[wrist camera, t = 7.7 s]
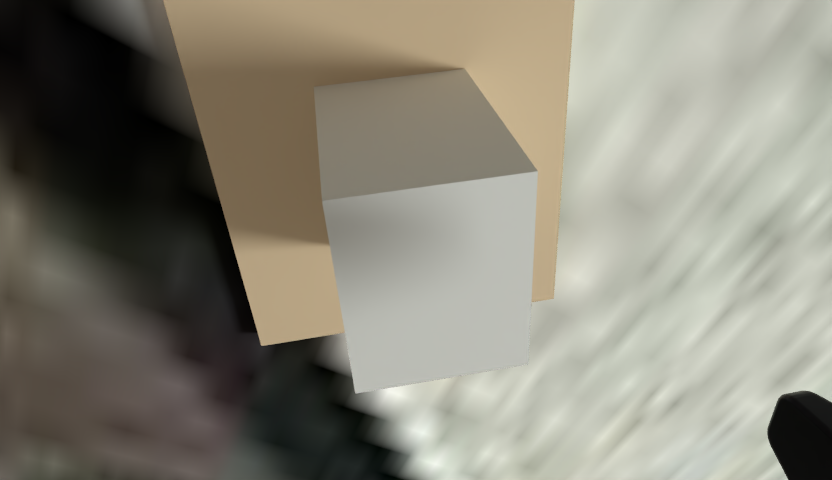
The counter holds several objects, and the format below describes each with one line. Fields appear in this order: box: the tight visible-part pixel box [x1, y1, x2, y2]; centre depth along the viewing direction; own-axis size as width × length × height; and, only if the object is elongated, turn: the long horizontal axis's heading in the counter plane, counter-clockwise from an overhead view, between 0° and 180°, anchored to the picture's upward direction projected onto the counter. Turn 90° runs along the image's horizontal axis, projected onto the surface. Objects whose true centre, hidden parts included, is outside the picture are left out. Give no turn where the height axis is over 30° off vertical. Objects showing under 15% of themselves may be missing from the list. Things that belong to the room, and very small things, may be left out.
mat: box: [163, 0, 574, 346], centre depth 18 cm, size 10×12×1 cm
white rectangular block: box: [314, 69, 538, 394], centre depth 15 cm, size 4×5×6 cm
